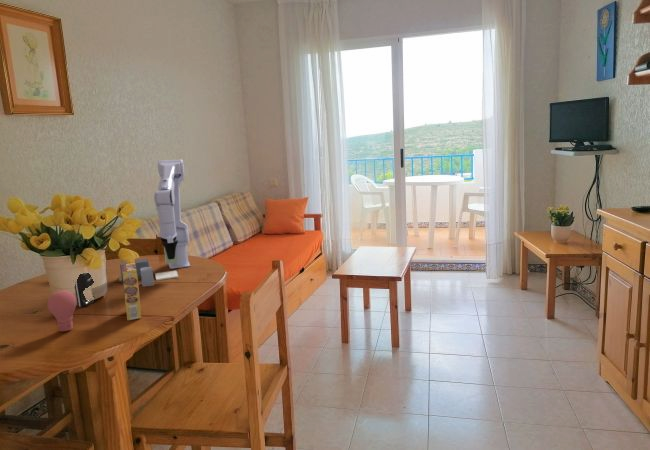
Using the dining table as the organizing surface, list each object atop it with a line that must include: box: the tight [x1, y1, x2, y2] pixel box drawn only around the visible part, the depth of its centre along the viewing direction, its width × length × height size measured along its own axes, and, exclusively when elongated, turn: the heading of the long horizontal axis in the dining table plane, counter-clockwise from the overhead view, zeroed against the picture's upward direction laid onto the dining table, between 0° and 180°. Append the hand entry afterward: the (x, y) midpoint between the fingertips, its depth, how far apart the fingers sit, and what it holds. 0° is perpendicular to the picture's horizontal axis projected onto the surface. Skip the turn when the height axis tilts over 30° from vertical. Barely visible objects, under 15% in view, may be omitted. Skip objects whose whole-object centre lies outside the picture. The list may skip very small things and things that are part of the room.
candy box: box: [121, 263, 142, 321], centre depth 142 cm, size 9×4×15 cm, turn 24°
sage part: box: [163, 246, 177, 265], centre depth 176 cm, size 4×4×6 cm
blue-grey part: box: [140, 266, 155, 288], centre depth 172 cm, size 4×4×6 cm
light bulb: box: [47, 289, 77, 332], centre depth 132 cm, size 7×7×12 cm
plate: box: [154, 270, 179, 281], centre depth 182 cm, size 8×8×1 cm
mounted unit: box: [118, 258, 150, 284], centre depth 181 cm, size 7×12×6 cm, turn 112°
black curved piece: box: [74, 273, 95, 308], centre depth 154 cm, size 7×4×11 cm, turn 178°
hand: (171, 257), depth 177 cm, fingers closed on sage part, 4 cm apart
